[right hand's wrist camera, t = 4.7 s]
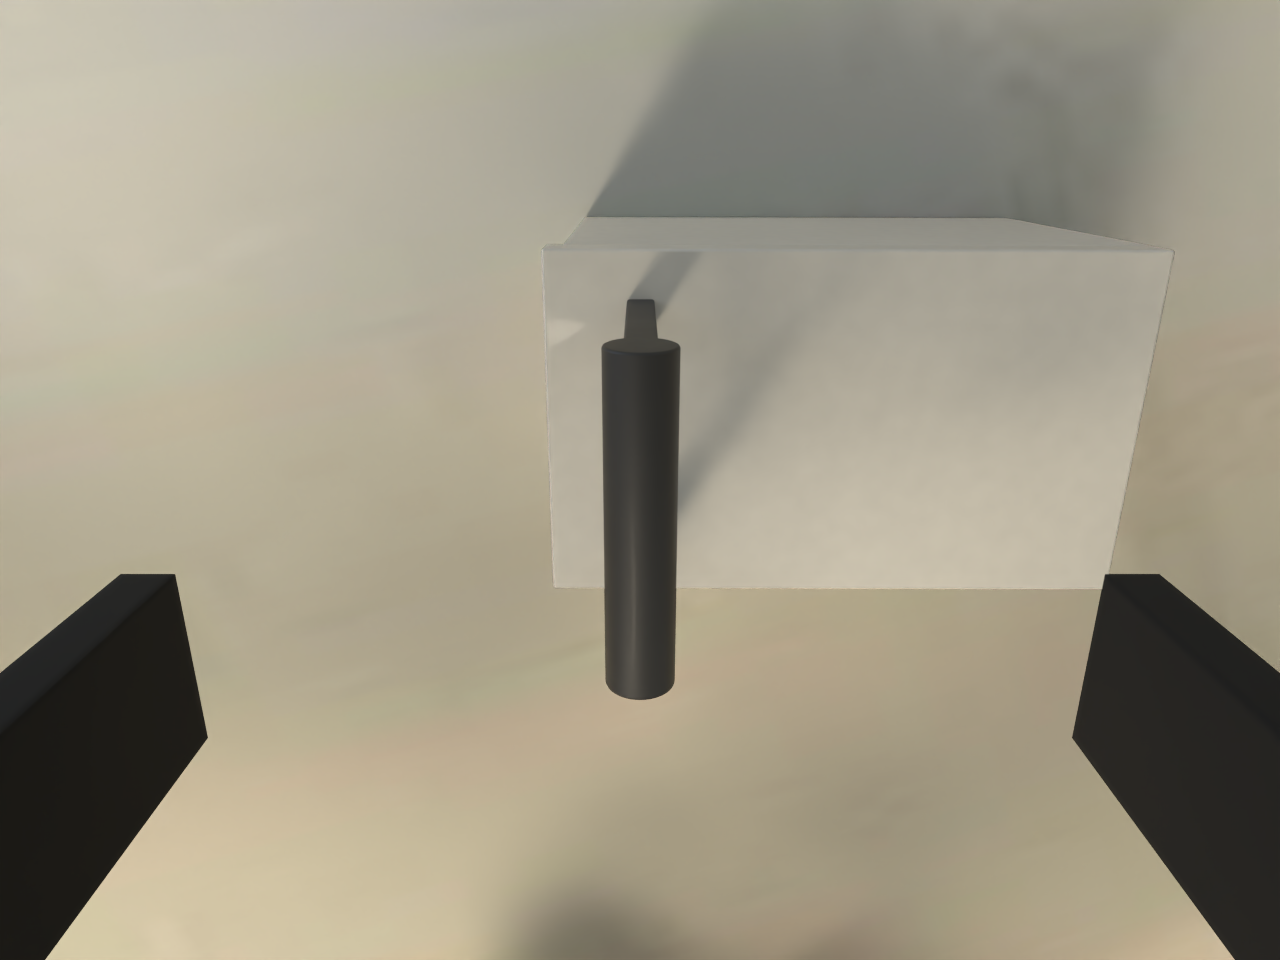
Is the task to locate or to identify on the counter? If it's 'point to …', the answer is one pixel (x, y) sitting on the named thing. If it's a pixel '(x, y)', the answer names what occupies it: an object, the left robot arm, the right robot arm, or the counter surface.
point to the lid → (836, 421)
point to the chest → (827, 232)
